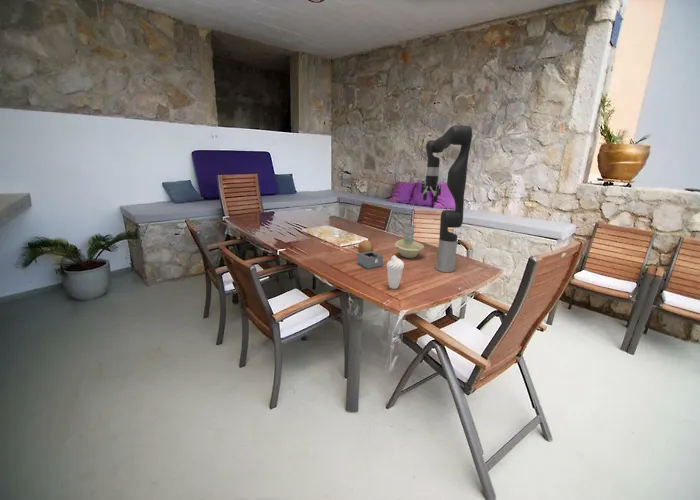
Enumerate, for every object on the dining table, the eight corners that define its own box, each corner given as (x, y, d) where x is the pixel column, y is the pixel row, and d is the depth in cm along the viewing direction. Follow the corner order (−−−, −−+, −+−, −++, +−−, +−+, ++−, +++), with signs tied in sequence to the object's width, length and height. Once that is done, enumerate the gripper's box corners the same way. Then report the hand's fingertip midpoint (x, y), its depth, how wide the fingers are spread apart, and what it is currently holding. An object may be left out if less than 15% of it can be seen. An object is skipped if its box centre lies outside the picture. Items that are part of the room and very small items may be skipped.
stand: (384, 267, 177) (385, 253, 175) (367, 271, 171) (368, 257, 169) (372, 261, 187) (372, 248, 185) (355, 265, 181) (355, 251, 178)
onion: (368, 259, 191) (369, 243, 188) (354, 256, 196) (354, 240, 193) (376, 255, 199) (377, 240, 196) (362, 252, 204) (363, 237, 201)
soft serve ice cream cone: (400, 283, 156) (403, 252, 152) (404, 290, 148) (406, 258, 144) (383, 283, 156) (385, 252, 151) (386, 290, 148) (388, 258, 143)
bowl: (405, 259, 208) (424, 246, 205) (407, 266, 190) (428, 252, 187) (392, 242, 206) (411, 228, 203) (393, 247, 189) (414, 233, 186)
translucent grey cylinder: (413, 244, 195) (415, 225, 192) (407, 245, 193) (409, 226, 189) (408, 242, 199) (409, 223, 195) (402, 243, 196) (404, 224, 193)
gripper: (445, 175, 191) (442, 202, 196) (428, 173, 203) (425, 199, 208) (436, 175, 187) (434, 203, 192) (419, 174, 199) (417, 200, 204)
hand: (429, 201), depth 200 cm, fingers open, 8 cm apart
